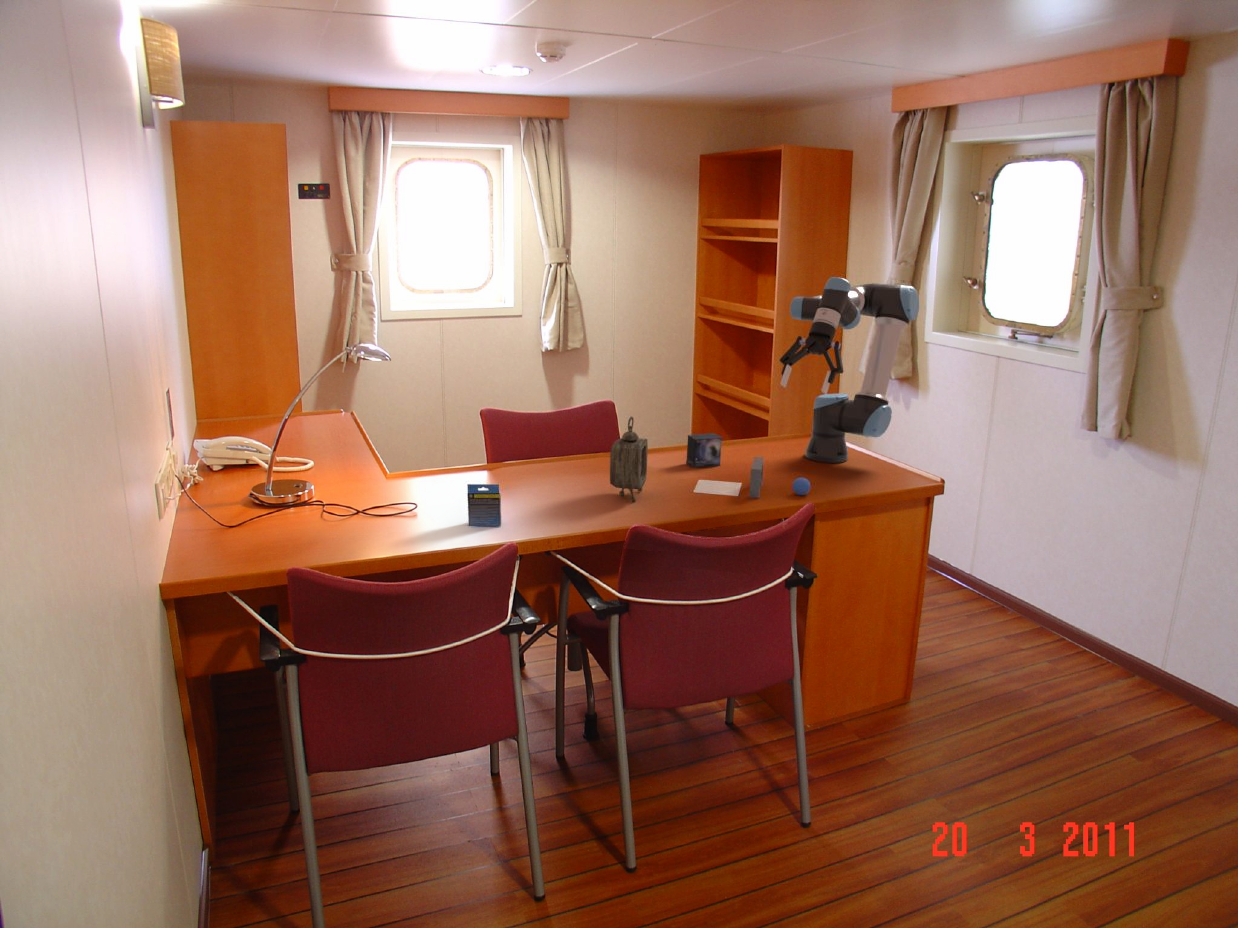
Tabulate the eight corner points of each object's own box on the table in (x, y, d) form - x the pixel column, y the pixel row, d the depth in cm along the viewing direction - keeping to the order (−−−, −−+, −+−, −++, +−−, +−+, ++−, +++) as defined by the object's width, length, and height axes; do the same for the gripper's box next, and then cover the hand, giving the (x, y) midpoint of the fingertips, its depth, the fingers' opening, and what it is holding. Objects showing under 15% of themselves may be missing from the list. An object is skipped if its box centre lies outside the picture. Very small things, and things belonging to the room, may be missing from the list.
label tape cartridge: (501, 522, 250) (501, 480, 247) (500, 527, 246) (499, 484, 243) (469, 522, 250) (468, 480, 246) (468, 526, 246) (466, 484, 243)
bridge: (749, 497, 276) (750, 468, 273) (752, 484, 290) (754, 456, 287) (759, 498, 275) (760, 469, 273) (762, 484, 289) (763, 457, 286)
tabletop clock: (638, 504, 267) (640, 423, 261) (608, 502, 269) (609, 421, 262) (646, 490, 281) (648, 412, 274) (618, 488, 283) (619, 411, 276)
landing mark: (699, 480, 293) (699, 479, 293) (741, 483, 290) (741, 482, 290) (693, 492, 280) (693, 491, 280) (737, 496, 277) (738, 495, 277)
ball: (792, 491, 283) (793, 474, 281) (809, 492, 282) (811, 476, 280) (791, 496, 278) (792, 479, 276) (809, 498, 276) (810, 481, 275)
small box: (693, 468, 306) (695, 439, 303) (685, 463, 312) (686, 434, 309) (721, 466, 310) (722, 436, 307) (712, 461, 316) (713, 432, 313)
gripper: (783, 316, 278) (761, 378, 274) (859, 325, 263) (837, 390, 260) (791, 326, 284) (770, 387, 280) (866, 336, 269) (845, 400, 266)
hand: (802, 389), depth 270 cm, fingers open, 13 cm apart
